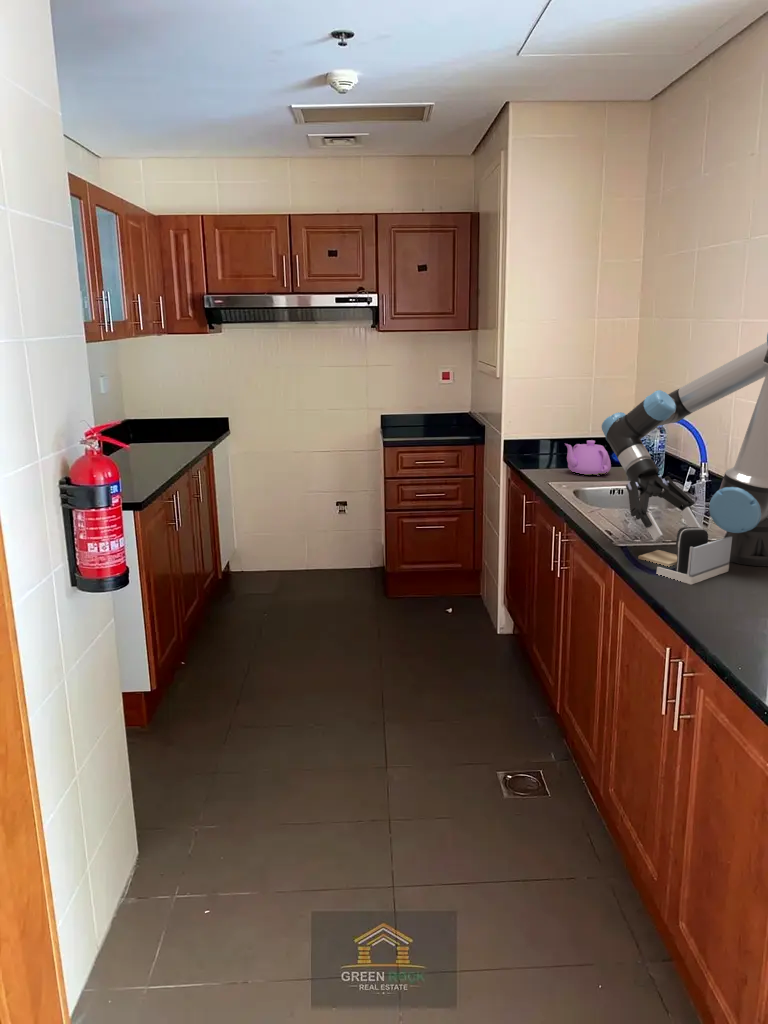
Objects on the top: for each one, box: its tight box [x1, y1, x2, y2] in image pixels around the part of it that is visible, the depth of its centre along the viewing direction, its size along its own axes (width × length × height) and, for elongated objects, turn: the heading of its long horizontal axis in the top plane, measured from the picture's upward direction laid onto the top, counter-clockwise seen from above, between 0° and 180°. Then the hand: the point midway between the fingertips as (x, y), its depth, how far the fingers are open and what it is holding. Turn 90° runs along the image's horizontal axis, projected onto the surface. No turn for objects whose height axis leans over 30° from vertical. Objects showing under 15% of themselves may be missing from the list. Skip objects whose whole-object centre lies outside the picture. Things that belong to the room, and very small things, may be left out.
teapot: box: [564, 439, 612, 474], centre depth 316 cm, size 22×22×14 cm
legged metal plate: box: [655, 536, 732, 586], centre depth 191 cm, size 17×9×9 cm, turn 128°
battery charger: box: [674, 526, 709, 574], centre depth 192 cm, size 7×4×11 cm, turn 93°
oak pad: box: [638, 549, 677, 568], centre depth 203 cm, size 9×9×1 cm
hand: (678, 534), depth 194 cm, fingers open, 13 cm apart
